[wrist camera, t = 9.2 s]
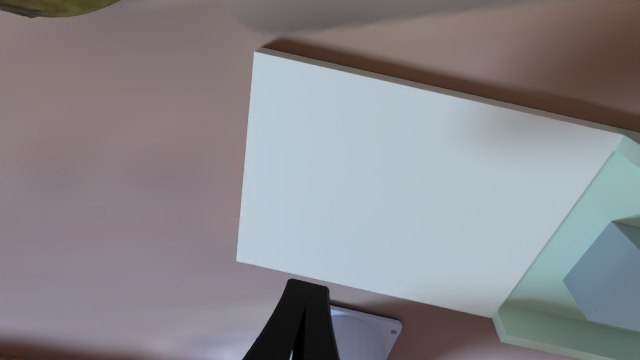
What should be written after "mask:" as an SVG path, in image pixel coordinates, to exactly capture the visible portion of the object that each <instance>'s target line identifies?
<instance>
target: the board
mask: <svg viewBox="0 0 640 360" xmlns="http://www.w3.org/2000/svg"><path fill="white" fill-rule="evenodd" d="M623 137H624V135H623V134H622V133H620V132H619V131H617V130H615V129H614V128H612V127H611V126H608V125H604V124H600V123H595V122H591V121H586V120H582V119H577V118H573V117H569V116H564V115H560V114H555V113H551V112H546V111H542V110H538V109H533V108H529V107H524V106H520V105H515V104H511V103H507V102H502V101H498V100H493V99H489V98H484V97H480V96H476V95H471V94H467V93H462V92H458V91H454V90H449V89H445V88H440V87H436V86H431V85H427V84H423V83H418V82H414V81H409V80H405V79H400V78H396V77H392V76H387V75H383V74H378V73H374V72H369V71H365V70H361V69H356V68H352V67H347V66H343V65H338V64H334V63H330V62H325V61H321V60H316V59H312V58H307V57H303V56H299V55H294V54H290V53H285V52H281V51H276V50H272V49H268V48H263V47H260V48H259V49H257V50H256V51H254V62H253V73H252V85H251V96H250V108H249V120H248V131H247V143H246V155H245V166H244V178H243V190H242V201H241V213H240V224H239V236H238V248H237V259H236V261H239V262H244V263H248V264H253V265H257V266H261V267H266V268H270V269H275V270H279V271H284V272H288V273H293V274H297V275H301V276H306V277H310V278H315V279H319V280H324V281H328V282H333V283H337V284H341V285H346V286H350V287H355V288H359V289H364V290H368V291H373V292H377V293H381V294H386V295H390V296H395V297H399V298H404V299H408V300H413V301H417V302H422V303H426V304H430V305H435V306H439V307H444V308H448V309H453V310H457V311H462V312H466V313H470V314H475V315H479V316H484V317H488V318H492V317H493V316H494V315H495V313H496V312H497V311H498V309H499V308H500V306H501V305H502V304H503V302H504V301H505V299H506V298H507V297H508V295H509V294H510V293H511V291H512V290H513V288H514V287H515V286H516V284H517V283H518V282H519V280H520V279H521V277H522V276H523V275H524V273H525V272H526V271H527V269H528V268H529V266H530V265H531V264H532V262H533V261H534V259H535V258H536V257H537V255H538V254H539V253H540V251H541V250H542V248H543V247H544V246H545V244H546V243H547V242H548V240H549V239H550V237H551V236H552V235H553V233H554V232H555V230H556V229H557V228H558V226H559V225H560V224H561V222H562V221H563V219H564V218H565V217H566V215H567V214H568V213H569V211H570V210H571V208H572V207H573V206H574V204H575V203H576V202H577V200H578V199H579V197H580V196H581V195H582V193H583V192H584V190H585V189H586V188H587V186H588V185H589V184H590V182H591V181H592V179H593V178H594V177H595V175H596V174H597V173H598V171H599V170H600V168H601V167H602V166H603V164H604V163H605V162H606V160H607V159H608V157H609V156H610V155H611V153H612V152H613V150H614V149H615V148H616V146H617V145H618V144H619V142H620V141H621V139H622V138H623Z"/></svg>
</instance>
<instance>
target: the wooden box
mask: <svg viewBox="0 0 640 360" xmlns="http://www.w3.org/2000/svg"><path fill="white" fill-rule="evenodd" d="M0 360H29V359H22V358H15V357H9V356H2V355H0Z"/></svg>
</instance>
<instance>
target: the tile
mask: <svg viewBox="0 0 640 360" xmlns="http://www.w3.org/2000/svg"><path fill="white" fill-rule="evenodd" d="M562 281H563V282H564V284H565V285H566V287H567V289H568V290H569V292H570V293H571V295H572V296H573V298H574V299H575V301H576V303H577V304H578V306H579V307H580V309H581V310H582V312H583V314H584V315H585V317H586V318H587V320H589V321H594V322H598V323H603V324H607V325H612V326H616V327H620V328H625V329H629V330H634V331H638V332H640V227H635V226H631V225H627V224H622V223H618V222H613V221H611V222H610V223H609V224H608V225H607V226H606V228H605V229H604V230H603V231H602V233H601V234H600V235H599V236H598V237H597V239H596V240H595V241H594V242H593V244H592V245H591V246H590V247H589V248H588V250H587V251H586V252H585V253H584V254H583V256H582V257H581V258H580V259H579V261H578V262H577V263H576V264H575V265H574V267H573V268H572V269H571V270H570V272H569V273H568V274H567V275H566V276H565V278H564V279H563V280H562Z"/></svg>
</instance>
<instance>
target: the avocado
mask: <svg viewBox="0 0 640 360" xmlns="http://www.w3.org/2000/svg"><path fill="white" fill-rule="evenodd" d="M118 1H120V0H0V10H2V11H6V12H10V13H14V14H17V15H21V16H27V17H29V18H34V17H38V16H39V17H72V16H78V15H83V14H87V13H90V12H94V11H96V10H99V9H102V8H104V7H107V6H110V5H112V4H113V3H116V2H118Z"/></svg>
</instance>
